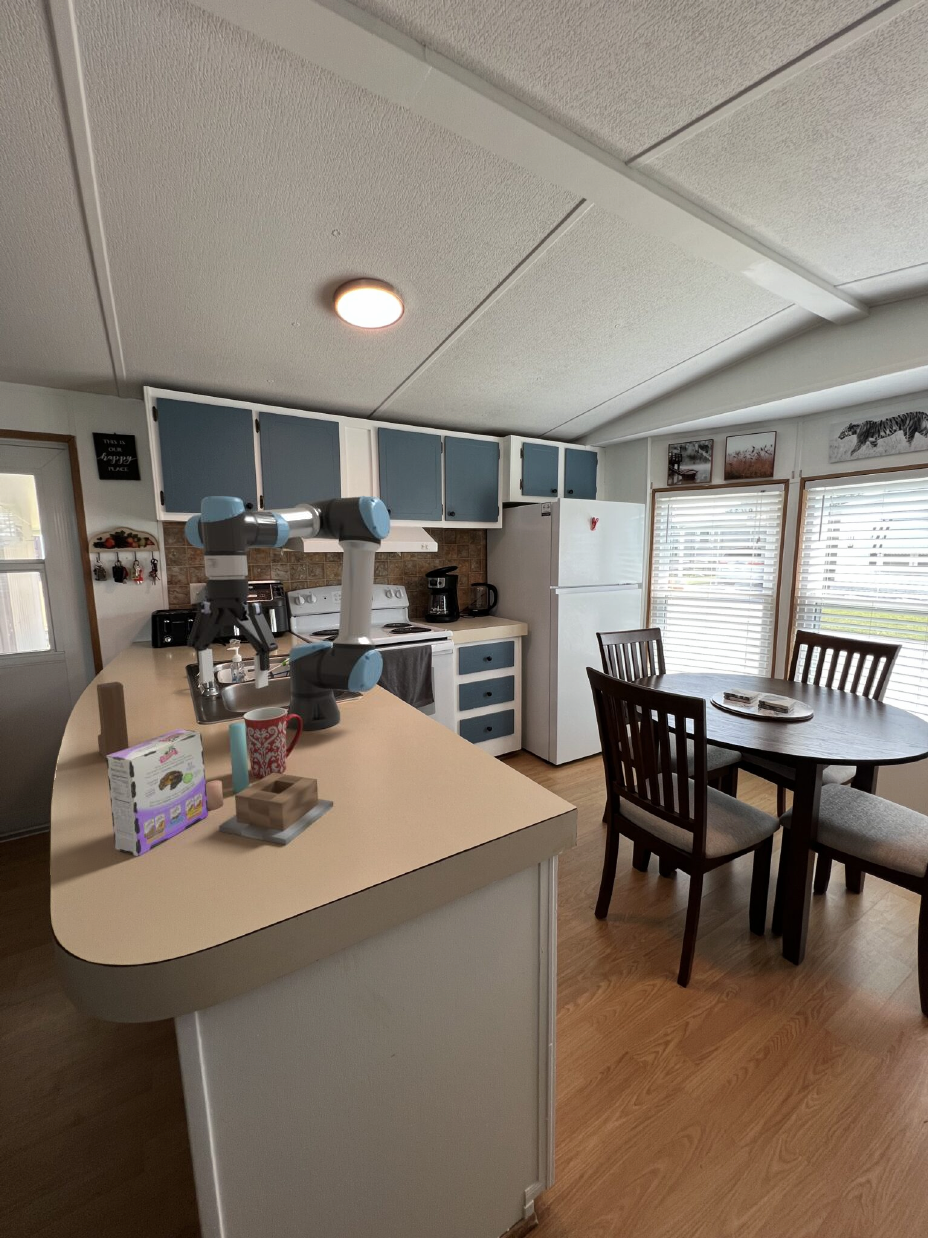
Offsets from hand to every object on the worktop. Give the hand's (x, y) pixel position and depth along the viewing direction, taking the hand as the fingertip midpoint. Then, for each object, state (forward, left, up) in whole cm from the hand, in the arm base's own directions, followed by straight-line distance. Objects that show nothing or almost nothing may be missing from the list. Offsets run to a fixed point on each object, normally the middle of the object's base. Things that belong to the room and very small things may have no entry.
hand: (234, 684), depth 102 cm
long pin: (0, 0, -22) cm, 22 cm away
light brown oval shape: (+7, 0, -22) cm, 23 cm away
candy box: (+17, -1, -23) cm, 28 cm away
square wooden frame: (+7, +15, -22) cm, 28 cm away
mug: (-11, 0, -23) cm, 25 cm away
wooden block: (-6, -44, -23) cm, 50 cm away
